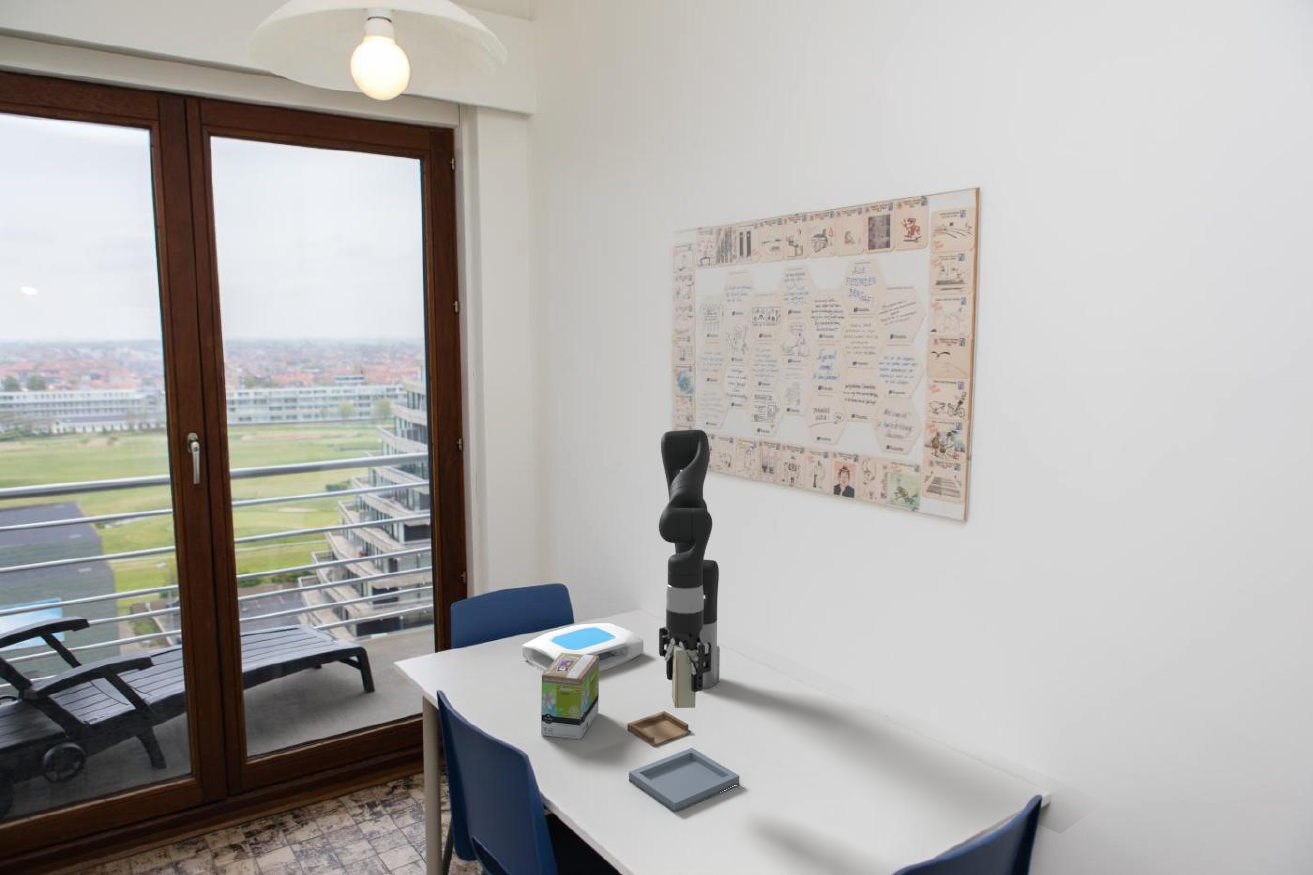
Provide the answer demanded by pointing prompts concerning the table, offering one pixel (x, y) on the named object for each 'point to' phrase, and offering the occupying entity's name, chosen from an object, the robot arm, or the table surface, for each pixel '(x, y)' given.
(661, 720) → the holder
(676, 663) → the skincare box
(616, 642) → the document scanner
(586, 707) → the tea box
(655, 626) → the table surface
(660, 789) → the tray
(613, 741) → the table surface
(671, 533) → the robot arm
